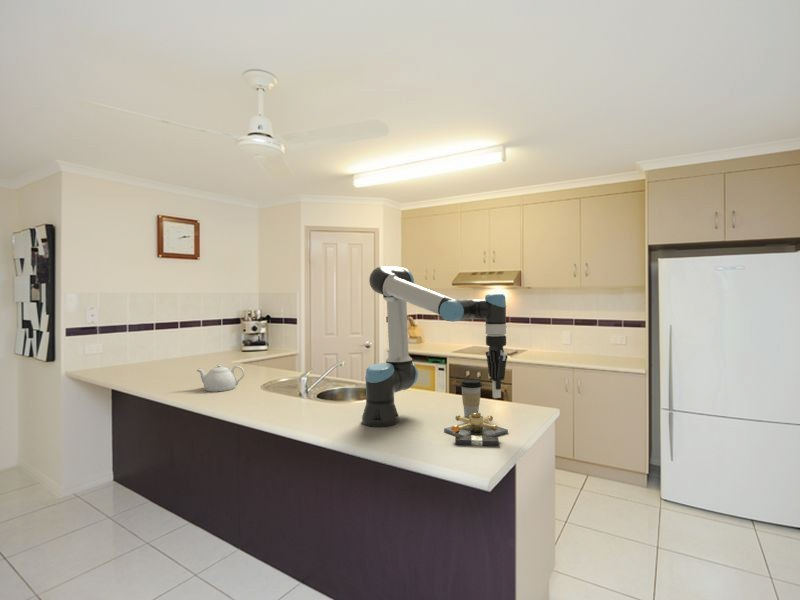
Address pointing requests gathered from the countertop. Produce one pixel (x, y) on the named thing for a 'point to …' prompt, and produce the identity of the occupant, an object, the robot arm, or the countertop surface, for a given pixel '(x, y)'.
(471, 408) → the coffee cup
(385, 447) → the countertop surface
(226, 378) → the teapot
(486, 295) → the robot arm
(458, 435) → the stand
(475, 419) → the handle
